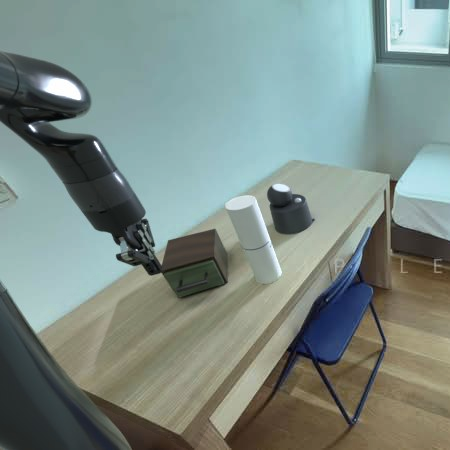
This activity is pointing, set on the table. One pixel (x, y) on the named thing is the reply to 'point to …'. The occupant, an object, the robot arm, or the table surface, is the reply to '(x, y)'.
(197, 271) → the drawer
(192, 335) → the table surface
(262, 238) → the cylindrical container
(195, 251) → the cabinet
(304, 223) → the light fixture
